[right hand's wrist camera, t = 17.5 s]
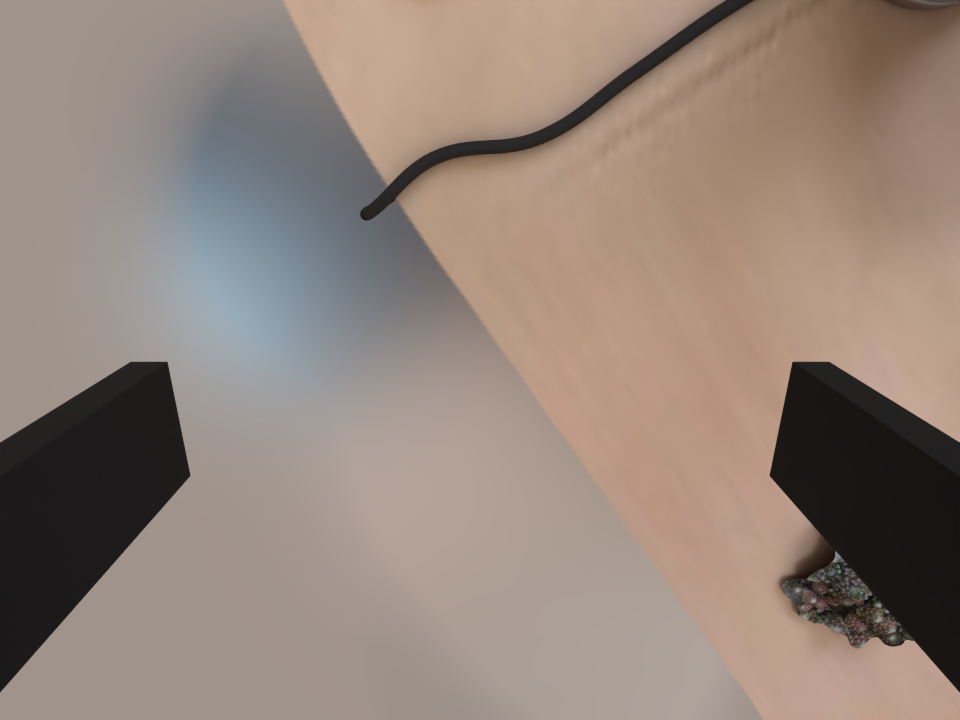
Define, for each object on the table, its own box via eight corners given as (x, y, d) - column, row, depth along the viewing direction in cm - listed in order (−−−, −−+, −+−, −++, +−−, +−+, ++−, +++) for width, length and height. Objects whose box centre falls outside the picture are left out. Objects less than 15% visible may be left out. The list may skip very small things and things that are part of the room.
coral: (858, 511, 50) (998, 522, 53) (816, 481, 55) (945, 494, 58) (801, 666, 55) (933, 670, 57) (766, 626, 60) (889, 631, 62)
